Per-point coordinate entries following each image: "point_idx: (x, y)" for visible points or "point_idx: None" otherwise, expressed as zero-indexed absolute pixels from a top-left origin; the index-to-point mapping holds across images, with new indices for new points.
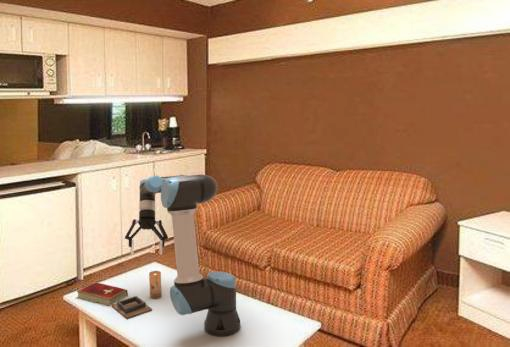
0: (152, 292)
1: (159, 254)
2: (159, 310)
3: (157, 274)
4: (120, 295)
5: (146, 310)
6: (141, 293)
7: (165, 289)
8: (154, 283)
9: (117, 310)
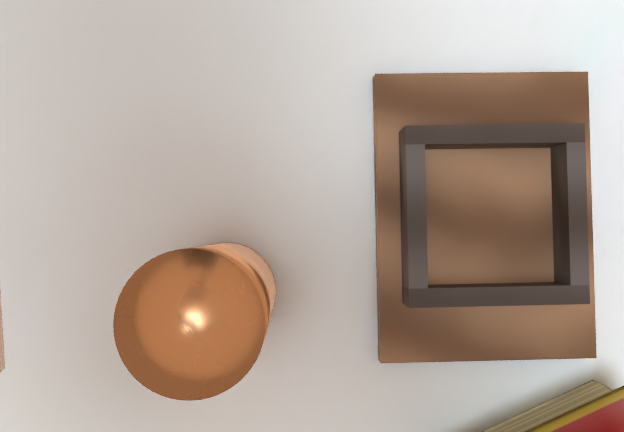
0: (266, 271)
1: (2, 358)
2: (325, 43)
3: (189, 256)
4: None
5: (422, 74)
6: (294, 429)
7: (92, 366)
8: (243, 258)
9: (588, 243)
